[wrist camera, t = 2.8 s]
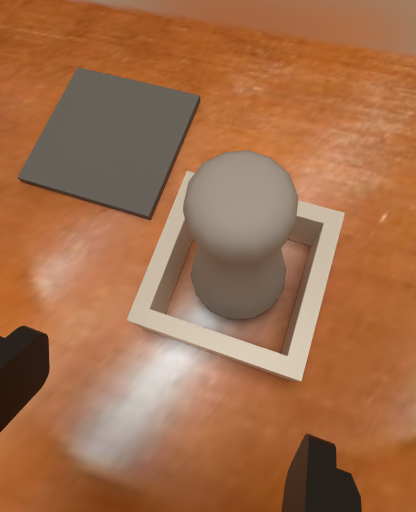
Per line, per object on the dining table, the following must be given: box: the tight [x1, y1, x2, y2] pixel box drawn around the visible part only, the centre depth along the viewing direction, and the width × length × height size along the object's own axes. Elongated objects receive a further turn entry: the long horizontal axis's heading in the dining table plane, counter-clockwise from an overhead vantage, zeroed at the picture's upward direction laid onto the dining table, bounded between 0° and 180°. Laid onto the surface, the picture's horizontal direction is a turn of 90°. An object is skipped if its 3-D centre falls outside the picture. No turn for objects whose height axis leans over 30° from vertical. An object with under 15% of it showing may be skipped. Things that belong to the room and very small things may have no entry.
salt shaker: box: [183, 150, 298, 319], centre depth 19 cm, size 6×6×13 cm
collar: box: [127, 171, 345, 381], centre depth 23 cm, size 10×10×4 cm
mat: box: [17, 68, 200, 220], centre depth 29 cm, size 11×11×1 cm
